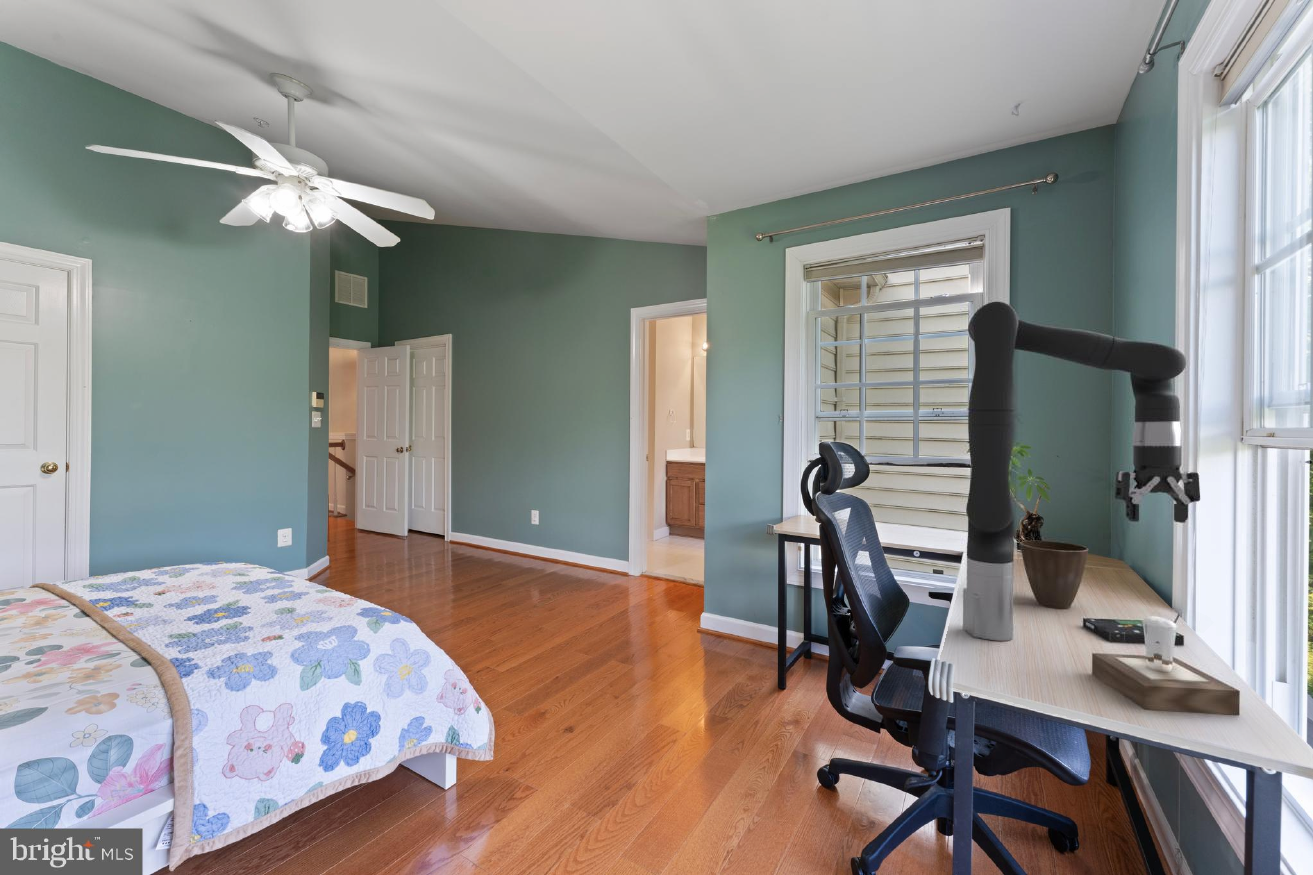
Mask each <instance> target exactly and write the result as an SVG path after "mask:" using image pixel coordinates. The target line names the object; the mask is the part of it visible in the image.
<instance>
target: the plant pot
mask: <svg viewBox="0 0 1313 875" xmlns="http://www.w3.org/2000/svg"><path fill="white" fill-rule="evenodd" d="M1020 551H1021V556H1022V561H1023V566H1024V569H1025V574H1026V577H1027V580H1028V583H1029V586H1030V589H1031V592H1032V593H1033V596H1034V599H1035V600H1036V603H1037V604H1039V605H1040V606H1044V607H1047V608H1053V609H1063V610H1064V609H1070V608H1071V606H1072V604H1073V603H1074V600H1075V598H1076V596H1077V594H1078V591H1079V589H1080V585H1081V582H1082V581H1083V580H1082V579H1083V576H1084V573H1085V569H1086V564H1087V560H1088V553H1089V548H1088V547H1086V546H1084V545H1082V544H1080V545H1079V544H1075V543H1069V542H1061V541H1051V540H1023V541H1020Z"/></svg>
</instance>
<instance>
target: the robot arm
mask: <svg viewBox="0 0 1313 875" xmlns="http://www.w3.org/2000/svg"><path fill="white" fill-rule="evenodd" d="M967 332H968V335H969V337H970V339H971V340H972V341H973V342H974V357H975V360H974V362H975V365H974V372H973V378H972V382H971V387H970V393H969V400H968V409H967V410H968V413H967V416H968V417H967V419H968V420H967V421H968V422H967V431H968V432H967V433H968V449H969V457H970V465H971V466H970V467H971V468H970V482H969V491H968V496H967V502H966V508H965V510H966V516H967V541H966V542H967V543H966V587H963V590H962V629H964V631H966V632H967V633H968V634H970V636H971V637H972V638H979V639H984V640H991V641H999V642H1001V641H1010V640H1012V639H1013V638H1014V554H1015V550H1014V549H1015V538H1014V537H1015V534H1014V533H1015V507H1014V503H1013V500H1012V497H1011V484H1010V464H1011V459H1012V454H1013V453H1012V452H1013V448H1014V442H1015V434H1016V388H1015V375H1014V355H1015V350H1018V351H1024V352H1030V353H1035V354H1039V355H1045V356H1049V357H1052V358H1055V359H1061V360H1063V361H1068V362H1071V363H1075V364H1080V365H1083V366H1086V367H1091V368H1094V369H1100V370H1105V371H1122V372H1126V373H1128V374H1129V376H1130V383H1131V388H1132V394H1133V398H1134V400H1135V401H1134V427H1133V431H1132V432H1133V433H1132V434H1133V435H1132V438H1133V439H1132V445H1133V447H1132V448H1133V449H1132V450H1133V451H1132V456H1133V458H1132V462H1133V463H1132V464H1133V467H1134V470H1132V472H1129V471H1121V470H1119V471H1116V473H1115V491H1114V498H1115V499H1116V500H1120V501H1122V502H1124V503H1125V517H1126V519H1127V520H1128V521H1130V522H1134V523H1135V522H1136V523H1138V522H1140V504H1139V502H1140V501H1141V500H1142V498H1143V497H1146V496H1147V495H1148V494H1149V493H1150V494H1151V493H1152V494H1157V493H1161V494H1167V495H1168V496H1170V497H1171V499H1173V501H1174V502H1175V503H1173V521H1174V522H1176V523H1179V524H1182V523H1183V524H1184V523H1186V521H1187V520H1188V519H1189V505H1190V504H1191V503H1195V502H1196V503H1197V502H1200V501H1201V491H1200V490H1201V489H1200V488H1201V486H1200V475H1199V473H1198V472H1195V471H1184V472H1181V470H1180V468H1181V466H1182V458H1183V457H1182V452H1183V451H1182V448H1183V447H1182V441H1183V440H1182V434H1183V433H1182V428H1181V422H1180V421H1181V418H1180V417H1181V411H1180V409H1181V406H1180V405H1181V404H1180V403H1181V402H1180V398H1179V396H1178V395H1176V394H1175V393H1174V391H1173V383H1172V379H1175V378H1176V377H1178V376H1180V374H1182V373H1183V372H1184V370H1185V369H1186V365H1187V359H1186V356H1185V354H1184V353H1183V352H1182V351H1181V350H1180V349H1178V348H1175V347H1173V346H1171V345H1166V344H1161V343H1157V342H1149V341H1140V340H1130V339H1124V338H1119V337H1116V336H1112V335H1109V334H1104V333H1099V332H1095V331H1090V330H1084V329H1077V328H1067V327H1065V328H1064V327H1058V326H1055V327H1054V326H1050V325H1049V326H1048V325H1047V326H1046V325H1041V324H1037V323H1033V322H1029V321H1026V320H1023V319H1020V318H1019V317H1018V314H1017V312H1016V310H1015V309H1014V307H1012V306H1011V305H1010V304H1009V303H1006V302H1003V301H991V302H987V303H985V304H984V305H982V306H981V307H980V308H978V309H977V310H976V311H975V313H974V314H973V315H972V317H971V318H970V320H969V323H968V326H967ZM1133 480H1134V482H1135V483H1134V485H1133V486H1132V487H1131V488H1130V486H1131V485H1130V484H1131V482H1132V481H1133ZM1180 481H1182V483H1183V488H1182V487H1181V486H1180V485H1179V482H1180Z"/></svg>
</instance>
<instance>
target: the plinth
mask: <svg viewBox="0 0 1313 875" xmlns="http://www.w3.org/2000/svg"><path fill="white" fill-rule="evenodd" d="M1091 674H1092V675H1093V676H1095V678H1097V679H1098V680H1100V681H1102V682H1104V683H1105V684H1106V685H1108V686H1109V687H1111V688H1112V689H1114V690H1115V691H1117V692H1118V693H1120V694H1122V696H1125V697H1126V698H1127V699H1129V700H1130V701H1132V703H1133V702H1134V704H1137V705H1138V706H1140V707H1141V708H1142V709H1144V710H1145V711H1146V710H1147V711H1164V712H1165V711H1166V712H1183V713H1184V712H1185V713H1198V714H1199V713H1200V714H1213V715H1214V714H1215V715H1217V714H1219V715H1234V716H1240V708H1241V707H1240V704H1241V703H1240V698H1241V696H1240V695H1241V691H1240V690H1239V689H1237V688H1235V687H1233V686H1231V685H1229V684H1227V683H1226V682H1224V681H1221V680H1219V679H1217V678H1216V677H1214V676H1212V675H1209V674H1208V673H1206V672H1204V671H1202V670H1200V669H1199V668H1196V667H1194V666H1192V665H1190V664H1188V663H1186V662H1185V661H1182V660H1180V659H1178V658H1176V657H1174V656H1173V662H1172V671H1171V672H1160V671H1156V670H1153V669H1150V668H1148V666H1147V662H1146V655H1144V654H1143V655H1140V654H1139V655H1138V654H1122V653H1121V654H1120V653H1117V654H1116V653H1100V652H1099V653H1098V652H1095V653H1094V652H1092V653H1091Z"/></svg>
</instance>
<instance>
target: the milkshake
mask: <svg viewBox="0 0 1313 875" xmlns="http://www.w3.org/2000/svg"><path fill="white" fill-rule="evenodd" d="M1180 616H1181V613H1178V614H1177V616H1176V618H1175V620H1174V621H1172V620H1170V619H1167V618H1165V617H1161V616H1160V617H1159V616H1156V615H1155V616H1154V615H1152V616H1146V617H1143V619H1142V621H1143V629H1144V638H1145V644H1144V646H1145V647H1144V648H1145V656H1146V662H1147V666H1148V668H1150V669H1153V670H1156V671H1160V672H1171V671H1172V662H1173V657H1174V654H1175V653H1174V652H1175V645H1174V643H1175V636H1176V632H1177V631H1178V630H1177V628H1178V626H1177V622H1178V620H1179V618H1180Z"/></svg>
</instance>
